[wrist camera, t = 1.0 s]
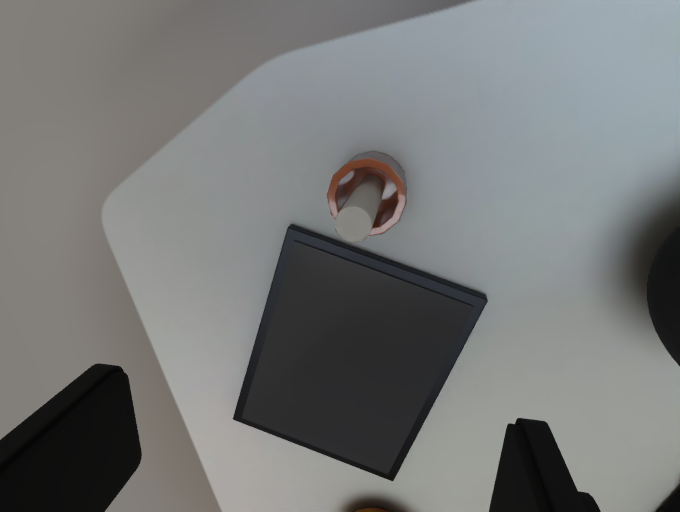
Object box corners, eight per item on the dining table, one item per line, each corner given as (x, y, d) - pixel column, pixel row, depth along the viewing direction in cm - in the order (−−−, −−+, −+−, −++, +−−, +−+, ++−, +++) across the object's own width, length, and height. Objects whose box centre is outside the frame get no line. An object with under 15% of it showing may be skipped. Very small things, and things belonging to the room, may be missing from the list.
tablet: (236, 412, 39) (231, 421, 38) (291, 223, 32) (286, 227, 31) (393, 472, 39) (393, 483, 37) (486, 294, 31) (488, 301, 30)
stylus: (356, 193, 30) (329, 235, 20) (364, 170, 29) (341, 200, 19) (379, 201, 30) (364, 247, 20) (388, 178, 29) (377, 213, 19)
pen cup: (332, 204, 31) (318, 220, 26) (352, 141, 29) (341, 147, 24) (392, 225, 31) (389, 246, 26) (416, 164, 29) (417, 174, 24)
